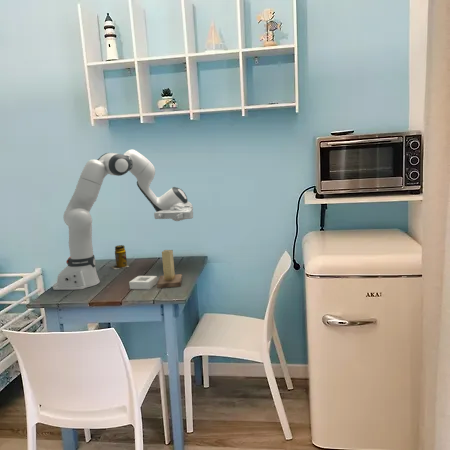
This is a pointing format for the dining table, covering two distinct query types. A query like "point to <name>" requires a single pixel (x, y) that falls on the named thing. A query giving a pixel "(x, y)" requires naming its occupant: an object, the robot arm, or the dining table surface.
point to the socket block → (143, 282)
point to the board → (169, 281)
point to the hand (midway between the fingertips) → (168, 217)
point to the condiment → (120, 257)
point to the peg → (168, 264)
